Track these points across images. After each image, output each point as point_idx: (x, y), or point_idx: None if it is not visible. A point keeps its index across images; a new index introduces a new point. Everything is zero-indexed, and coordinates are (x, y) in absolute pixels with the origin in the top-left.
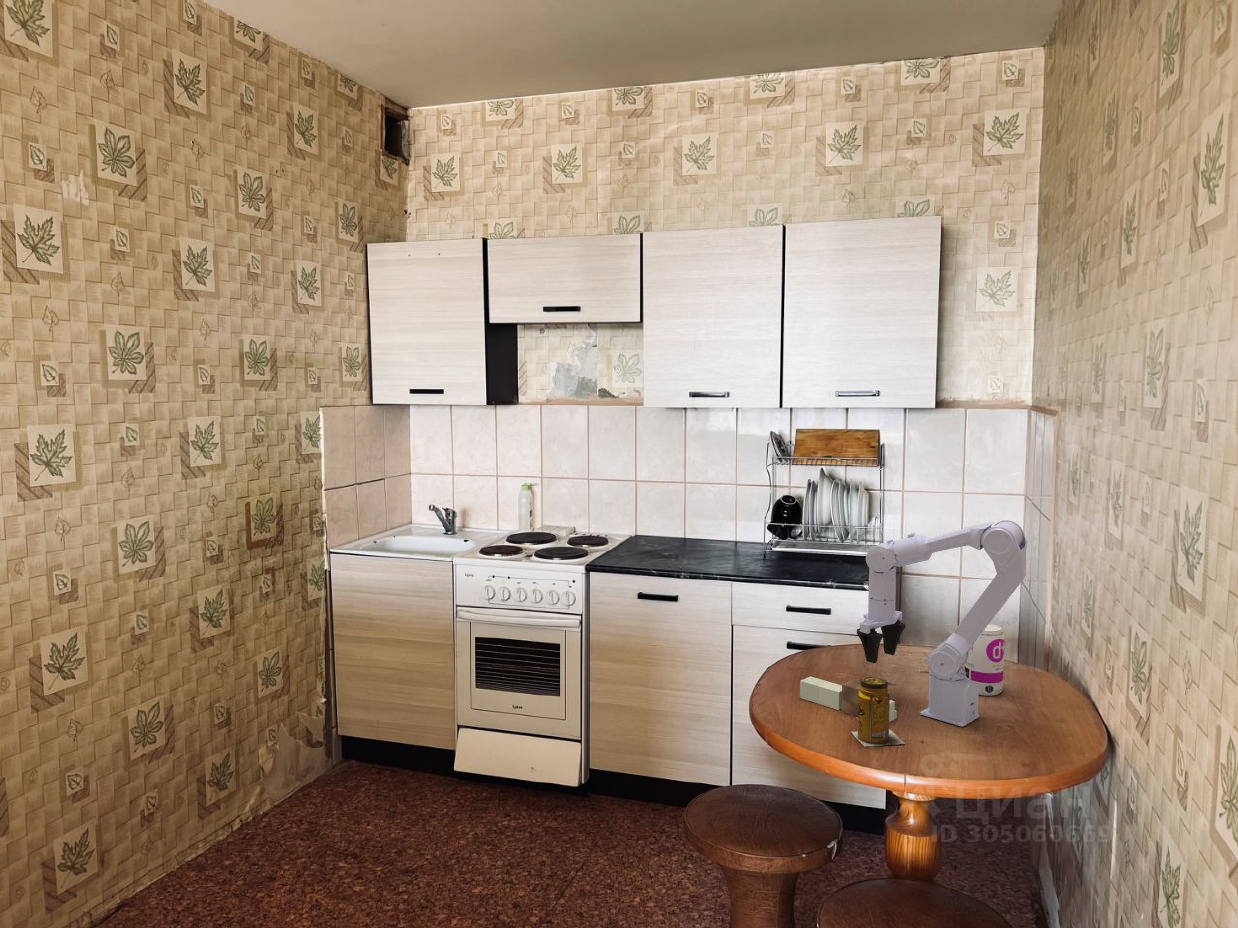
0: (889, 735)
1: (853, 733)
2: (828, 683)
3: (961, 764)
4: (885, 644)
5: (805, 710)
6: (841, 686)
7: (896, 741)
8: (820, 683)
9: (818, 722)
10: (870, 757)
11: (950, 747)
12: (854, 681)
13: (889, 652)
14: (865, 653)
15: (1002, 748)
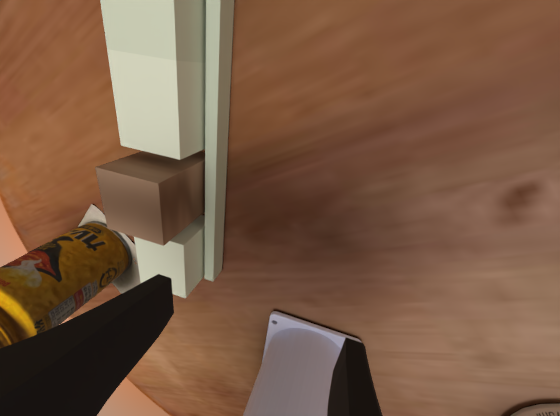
0: (138, 269)
1: (91, 211)
2: (159, 67)
3: None
4: (344, 398)
5: (92, 45)
6: (170, 130)
7: (126, 283)
8: (135, 34)
9: (70, 121)
10: None
11: (174, 350)
12: (153, 196)
13: (337, 368)
14: (116, 299)
15: (224, 405)
